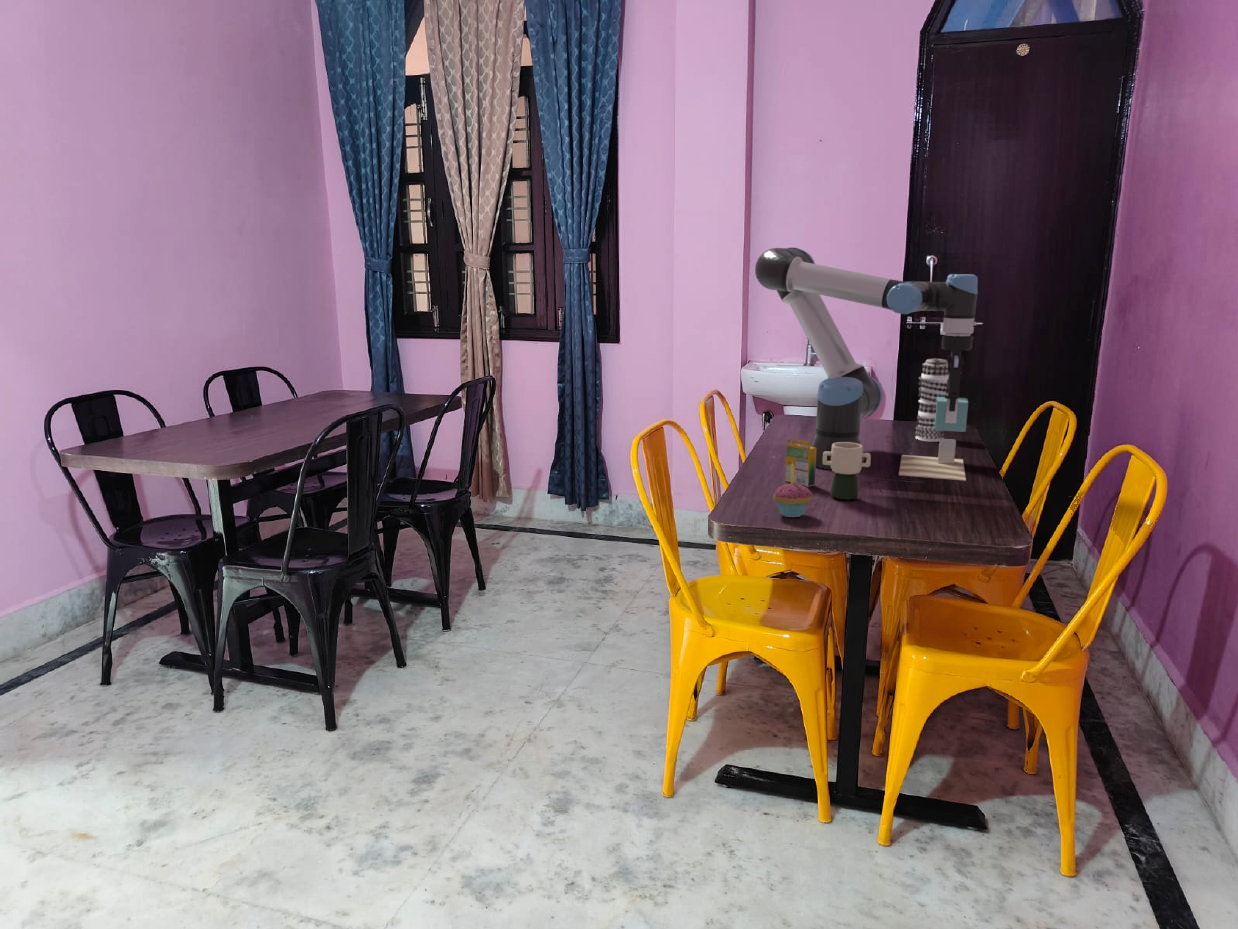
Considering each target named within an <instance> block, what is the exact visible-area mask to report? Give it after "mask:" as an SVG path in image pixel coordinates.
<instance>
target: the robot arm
mask: <svg viewBox="0 0 1238 929" xmlns="http://www.w3.org/2000/svg"><path fill="white" fill-rule="evenodd" d="M815 262H816V261H815V260H814V258H813V257H812V255H811V254H810V253H809V252H807V251H806V250H804V249H801V248H799V247H784V248H783V247H773V248H768V249H767V250H765V251H764V252H762V254H760V256H759V257H758V258H757V261H756V262H755V266H754V272H755V276H756V280H757V282H759V284H760V285H761V286H762V287H764V288H765V289H768V290H771V291H776V292H777V294H778V296H779V298H780V299H781V302H782V303H784V304H788V305H790V307H791V308H792V311H793V313H794V314H795V316H796V319H797V321H798V323H799V324H800V326H801V328H802V330H803V332H804V334H805V336H806V338H807V340H808V341H809V343H810V345H811V347H812V349H813V351H814V353H815V355H816V357H817V359H818V361H819V363H820V364H821V366H822V369H823V370H824V372H825V375H827V378H825V379H824V380H822V381H821V382H820V383H819V385H818V391H817V394H816V397H817V399H816V400H817V402H816V423H815V425H816V426H815V436H814V439H813V441H812V445H810V447H814V448H817V450H816V467H815V468H818V467H819V468H818V469H822V468H824V470H830V469H831V465H824V464H823V453H824V452H825V451H829V452H831V450H832V444H833V443H838V442H851V443H857V444H861V445H862V443H861V440H860V430H861V420H862V419H866V418H868V417H870V416H871V415H873V414H874V413H875V412H877V410H878V409H879V408H880V407H881V404H882V400H883V390H882V389H883V388H882V386H881V385H880V383H879V382H878V381H877V380H876V379H875V378H873V377H871V376H870V375H869V374H868V371H867V370H866V368H865V366H864V365H863V364H860V363H857V362H856V361H855V359H854V357H853V355H852V353H851V351H850V349H849V347H848V346H847V343H846V342H845V340H844V338H843V336H842V334H841V332H840V331H839V329H838V326H837V325H836V323H835V321H834V319H833V317H832V315H831V313H830V311H829V310H828V308H827V306H826V304H825V302H824V300H823V298H822V296H825V297H830V298H834V299H839V300H843V301H849V302H853V303H858V304H863V305H867V306H873V307H876V308H881V309H886V310H889V311H892V312H894V313H896V314H901V315H909V314H911V313H914V312H915V313H916V312H921V311H923V312H924V311H926V312H927V311H934V312H935V311H936V312H937V311H938V312H943V313H944V314H943V320H942V321H943V323H942V324H943V325H942V333H943V335H942V337H941V338H942V339H941V349H942V350H944V351H951V353H950V355H947V360H946V361H947V362H948V375H949V377H948V380H947V383H948V386H947V388H946V389H947V392H946V394H947V396H945V399H947V407H946V419H945V423H956V420H957V409H958V398H960V394H961V389H960V383H961V382H960V381H961V374H962V373H963V365H964V361H965V357H964V355H963V356H962V352H963V351H965V352H966V351H970V350H972V349H973V342H974V341H973V340H974V337H973V335H971V334H973V333H974V329H975V327H974V326H977V325H978V323H977V321H975V316H976V308H977V301H978V294H979V291H978V283H979V282H978V279H979V278H978V276H977V275H975V274H972V273H969V274H968V273H967V274H964V273H963V274H961V273H960V274H958V273H957V274H956V273H950V274H949V275H948V276H947V279H946V280H945V281H917V280H916V281H915V280H912V281H902V280H897V279H892V278H886V277H882V276H876V275H871V274H866V273H861V272H856V271H852V270H851V271H850V270H847V269H841V268H837V267H836V268H835V267H831V266H826V265H822V264H817V263H815ZM827 461H831V456H829V455H827ZM862 463H865V457H862Z"/></svg>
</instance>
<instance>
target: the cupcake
mask: <svg viewBox="0 0 1238 929" xmlns="http://www.w3.org/2000/svg"><path fill="white" fill-rule="evenodd" d="M772 499H773V500H774V501H775V502H776V504H777V507H778V509H779V514H780V513H782V514H784V515H787V516H799V515H802V514H803V515H804V512H805V510H806V507H807V506H808V504H810V503H811V502H812V501H813V492H812V491H811V490H810V489H809V487H805V486H802V485H798V484H794V465H793V461H792V465H791V483H784V484H781V485H780V486H778V487H777V488H775V490H774V493H773V496H772ZM803 515H802V516H803Z"/></svg>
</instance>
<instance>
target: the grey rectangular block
mask: <svg viewBox="0 0 1238 929" xmlns="http://www.w3.org/2000/svg"><path fill="white" fill-rule="evenodd" d="M956 446H957V440H956V439H953V438H951V439H950V438H944V439H940V442H939V444H938V456H937V457H938V463H943V464H954V459H956V458H955V456H956V448H957V447H956Z"/></svg>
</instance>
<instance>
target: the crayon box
mask: <svg viewBox="0 0 1238 929" xmlns="http://www.w3.org/2000/svg"><path fill="white" fill-rule="evenodd" d="M798 442H799V443H800V444H798ZM816 450H817V448H814V447H811V441H806V440H801V439H797V438H792V437H791V438H790V437H787V438H786V454H785V455H786V456H785V471H784V472H785V473H784V481H785V480H786V481H789V482H791V465H792V461H793V465H794V483H798V484H802V485H805V486H810V485H813V484H815V482H816V468H817V467H816ZM789 482H788V483H789ZM805 486H804V487H805ZM810 487H811V486H810Z"/></svg>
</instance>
